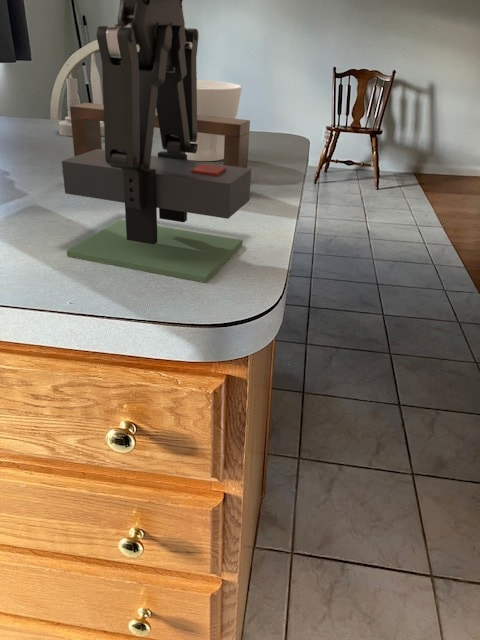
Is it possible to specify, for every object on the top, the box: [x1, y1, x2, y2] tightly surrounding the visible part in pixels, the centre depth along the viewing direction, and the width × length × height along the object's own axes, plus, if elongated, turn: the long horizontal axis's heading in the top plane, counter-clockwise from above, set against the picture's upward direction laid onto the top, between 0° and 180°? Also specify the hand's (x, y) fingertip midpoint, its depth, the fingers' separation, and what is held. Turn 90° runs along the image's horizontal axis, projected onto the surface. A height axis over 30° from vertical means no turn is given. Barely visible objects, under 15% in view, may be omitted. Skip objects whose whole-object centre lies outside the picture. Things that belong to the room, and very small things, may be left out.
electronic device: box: [58, 77, 105, 137], centre depth 97 cm, size 5×10×15 cm
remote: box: [61, 148, 252, 220], centre depth 50 cm, size 16×6×3 cm, turn 72°
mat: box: [66, 219, 243, 283], centre depth 53 cm, size 14×10×1 cm
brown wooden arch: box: [70, 102, 251, 168], centre depth 73 cm, size 24×4×9 cm, turn 72°
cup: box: [185, 79, 243, 163], centre depth 88 cm, size 12×12×11 cm
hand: (158, 229), depth 52 cm, fingers closed on remote, 6 cm apart
